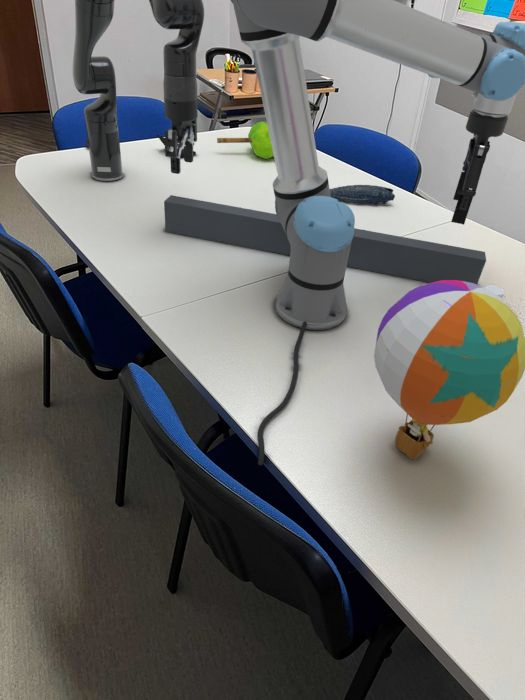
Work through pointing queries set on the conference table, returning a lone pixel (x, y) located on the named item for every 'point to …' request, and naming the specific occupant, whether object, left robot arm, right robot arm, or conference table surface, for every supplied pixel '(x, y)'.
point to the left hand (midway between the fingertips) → (182, 167)
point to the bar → (365, 248)
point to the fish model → (363, 194)
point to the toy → (448, 357)
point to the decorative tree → (255, 140)
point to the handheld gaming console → (169, 146)
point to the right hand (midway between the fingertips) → (458, 211)
